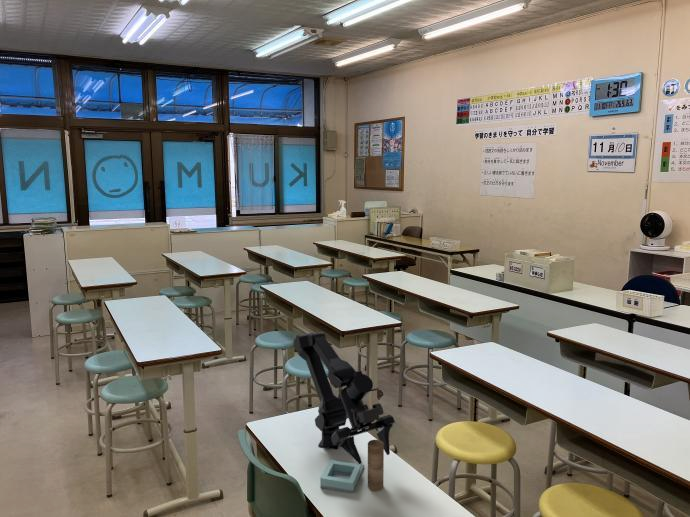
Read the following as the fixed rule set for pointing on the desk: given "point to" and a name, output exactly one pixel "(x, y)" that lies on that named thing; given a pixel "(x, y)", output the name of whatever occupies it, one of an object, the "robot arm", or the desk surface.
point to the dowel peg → (375, 465)
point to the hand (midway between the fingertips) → (374, 459)
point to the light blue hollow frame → (341, 476)
